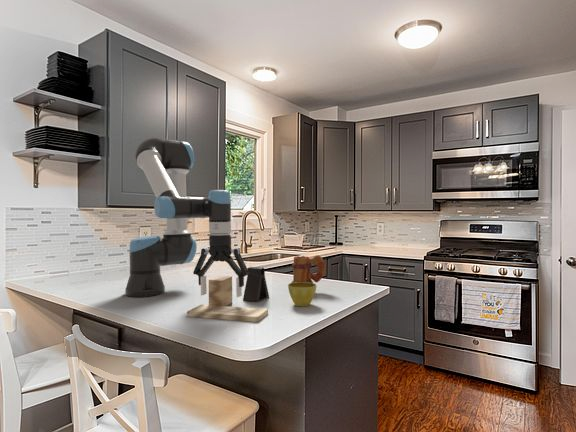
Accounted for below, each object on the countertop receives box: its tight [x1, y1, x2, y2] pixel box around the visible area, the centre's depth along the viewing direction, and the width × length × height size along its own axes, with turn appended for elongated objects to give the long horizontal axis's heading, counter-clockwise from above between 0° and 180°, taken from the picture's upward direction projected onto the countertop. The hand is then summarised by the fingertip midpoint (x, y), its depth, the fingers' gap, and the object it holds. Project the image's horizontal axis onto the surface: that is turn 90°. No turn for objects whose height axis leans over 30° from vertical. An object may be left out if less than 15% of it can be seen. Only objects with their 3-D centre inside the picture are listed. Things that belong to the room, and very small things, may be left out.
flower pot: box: [287, 282, 317, 307], centre depth 126 cm, size 10×10×7 cm
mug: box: [290, 254, 326, 283], centre depth 148 cm, size 15×8×15 cm, turn 68°
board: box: [186, 304, 269, 323], centre depth 114 cm, size 24×9×2 cm, turn 74°
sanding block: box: [208, 275, 233, 307], centre depth 124 cm, size 5×8×10 cm, turn 164°
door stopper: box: [242, 266, 270, 303], centre depth 135 cm, size 9×6×12 cm, turn 152°
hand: (221, 295), depth 124 cm, fingers open, 13 cm apart
